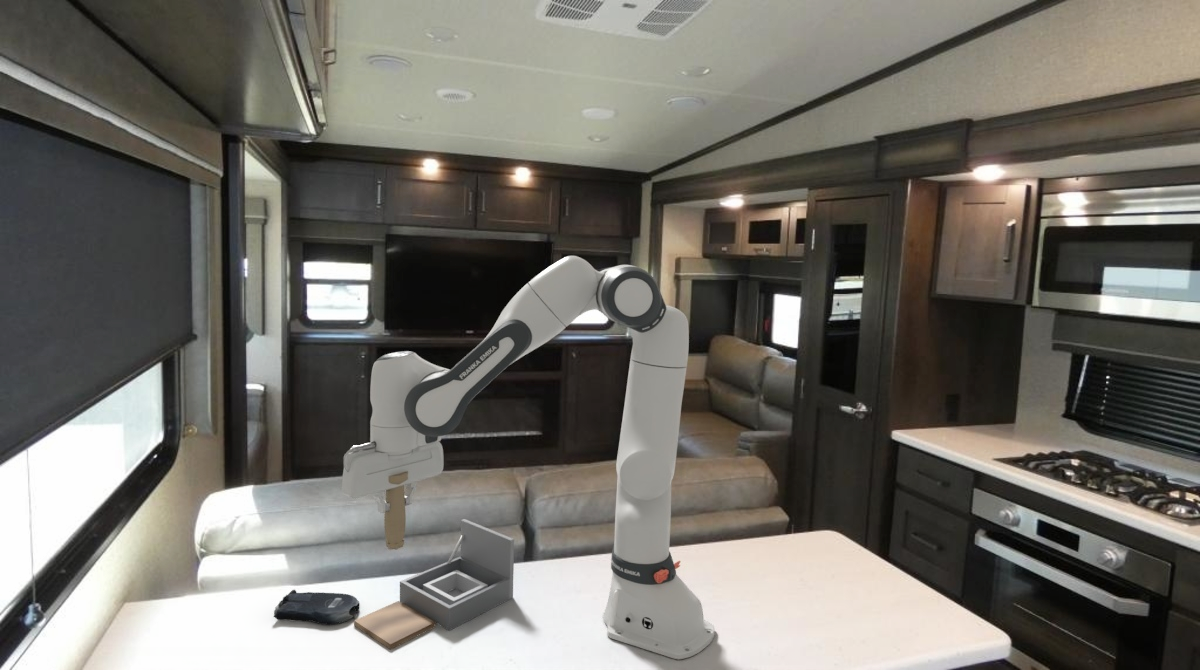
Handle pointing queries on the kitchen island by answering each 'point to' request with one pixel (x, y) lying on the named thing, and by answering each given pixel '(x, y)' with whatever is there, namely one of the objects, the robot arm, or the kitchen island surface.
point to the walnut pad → (394, 624)
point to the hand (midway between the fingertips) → (395, 508)
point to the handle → (395, 512)
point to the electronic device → (316, 607)
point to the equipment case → (464, 579)
